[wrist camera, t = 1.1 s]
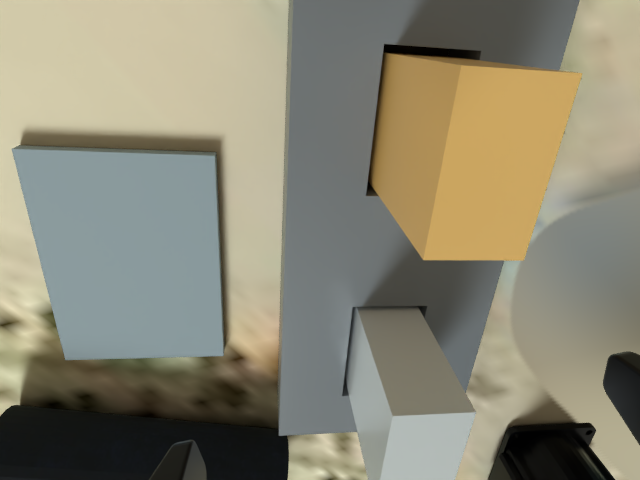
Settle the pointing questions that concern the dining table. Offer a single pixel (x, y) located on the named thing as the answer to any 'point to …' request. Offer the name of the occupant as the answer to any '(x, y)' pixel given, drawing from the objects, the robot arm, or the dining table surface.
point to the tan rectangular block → (467, 151)
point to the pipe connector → (129, 446)
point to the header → (360, 197)
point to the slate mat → (127, 249)
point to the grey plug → (404, 396)
